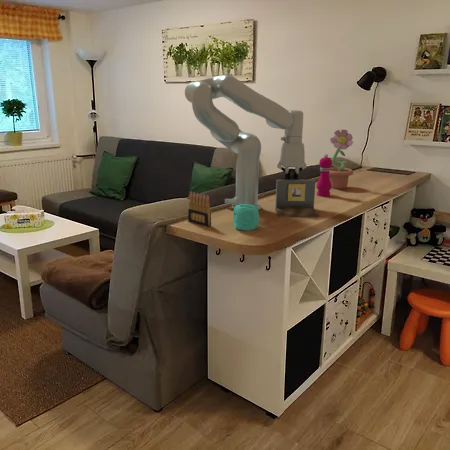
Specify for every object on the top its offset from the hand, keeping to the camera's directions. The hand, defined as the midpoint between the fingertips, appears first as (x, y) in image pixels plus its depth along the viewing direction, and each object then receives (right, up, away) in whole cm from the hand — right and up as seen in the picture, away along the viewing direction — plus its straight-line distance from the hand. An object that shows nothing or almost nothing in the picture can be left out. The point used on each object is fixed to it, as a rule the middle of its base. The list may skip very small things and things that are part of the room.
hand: (291, 182), depth 199 cm
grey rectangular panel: (0, -11, -7) cm, 13 cm away
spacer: (+1, -9, -10) cm, 13 cm away
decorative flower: (+30, +1, +40) cm, 50 cm away
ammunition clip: (-39, -19, -27) cm, 51 cm away
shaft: (0, -4, -6) cm, 8 cm away
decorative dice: (-21, -20, -32) cm, 43 cm away
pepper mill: (+19, -5, +22) cm, 29 cm away
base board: (+1, -14, -11) cm, 18 cm away
